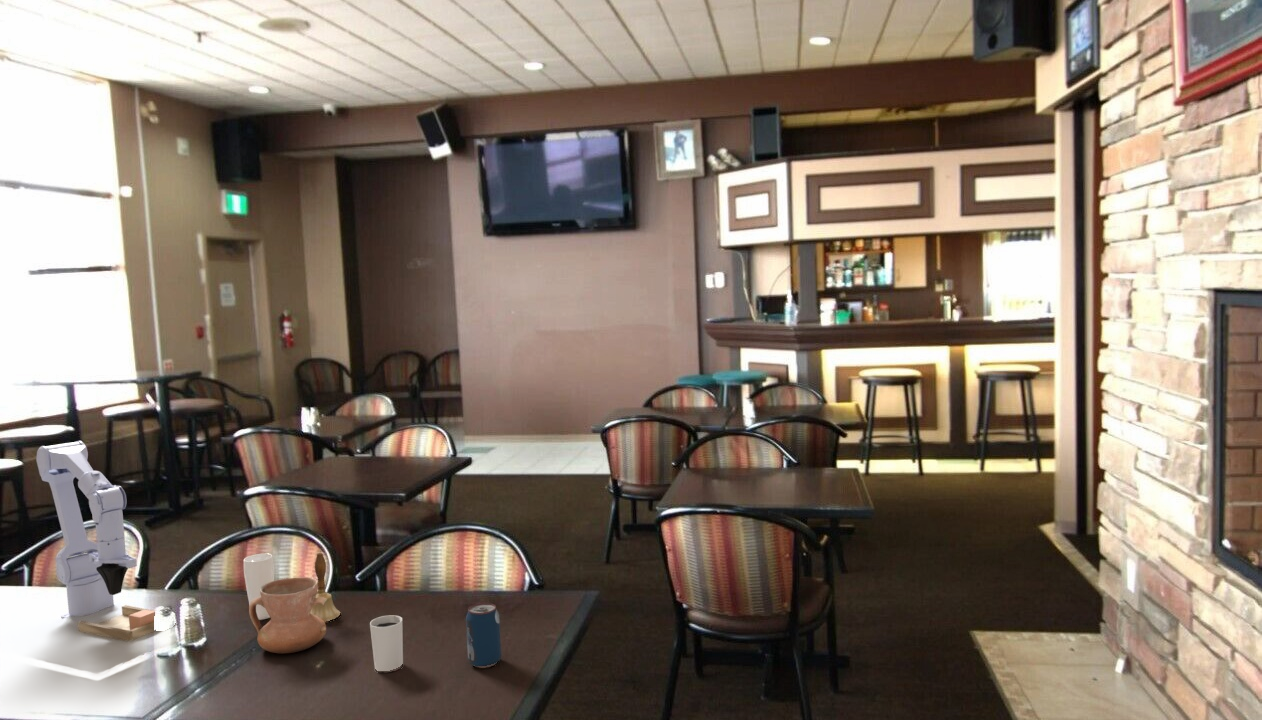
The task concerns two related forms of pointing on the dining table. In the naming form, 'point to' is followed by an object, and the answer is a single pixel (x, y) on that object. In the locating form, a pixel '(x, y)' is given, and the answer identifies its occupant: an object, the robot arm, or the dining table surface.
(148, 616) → the terracotta block
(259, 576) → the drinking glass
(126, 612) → the shallow wooden tray
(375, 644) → the white cup
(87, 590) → the robot arm
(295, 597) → the ceramic jug
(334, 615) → the hand bell
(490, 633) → the soda can
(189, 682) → the dining table surface
